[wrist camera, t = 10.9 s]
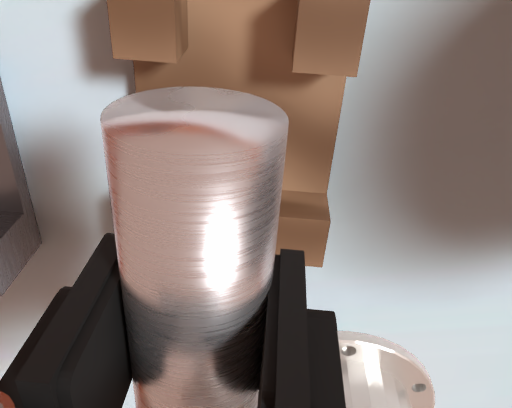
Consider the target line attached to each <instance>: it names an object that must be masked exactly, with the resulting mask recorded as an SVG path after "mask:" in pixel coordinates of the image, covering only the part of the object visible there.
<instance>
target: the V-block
mask: <svg viewBox="0 0 512 408" xmlns="http://www.w3.org/2000/svg"><path fill="white" fill-rule="evenodd" d="M40 245H41V239H40V235H39V231H38V227H37V223H36V219H35V215H34V211H33V207H32V203H31V199H30V195H29V191H28V187H27V183H26V179H25V175H24V171H23V167H22V163H21V159H20V155H19V151H18V147H17V143H16V139H15V135H14V131H13V127H12V122H11V118H10V114H9V110H8V106H7V102H6V98H5V94H4V90H3V86H2V82H1V78H0V296H2V295H3V294H4V292H5V291H6V290H7V288H8V287H9V286H10V285H11V283H12V282H13V281H14V279H15V278H16V277H17V275H18V274H19V273H20V271H21V270H22V269H23V267H24V266H25V265H26V263H27V262H28V261H29V259H30V258H31V257H32V255H33V254H34V253H35V251H36V250H37V249H38V247H39V246H40Z"/></svg>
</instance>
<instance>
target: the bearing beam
mask: <svg viewBox="0 0 512 408" xmlns="http://www.w3.org/2000/svg"><path fill="white" fill-rule="evenodd" d="M369 5H370V0H107V8H108V17H109V26H110V35H111V44H112V53H113V59H126V60H133V64H134V75H135V87H136V93H137V92H141V91H146V90H152V89H159V88H168V87H212V88H222V89H229V90H235V91H240V92H244V93H248V94H252V95H255V96H258V97H261V98H264V99H266V100H268V101H270V102H272V103H274V104H276V105H277V106H279V107H280V108H281V109H282V110H283V111H284V112H285V113H286V114H287V116H288V120H289V126H288V135H287V145H286V154H285V164H284V174H283V183H282V193H281V202H280V212H279V222H278V231H277V241H276V251H275V254H277V255H280V249H292V250H303V251H304V254H305V266H313V267H322V265H323V260H324V254H325V249H326V243H327V238H328V232H329V227H330V214H329V207H328V200H327V189H328V183H329V177H330V171H331V165H332V159H333V153H334V147H335V141H336V135H337V129H338V123H339V117H340V111H341V105H342V100H343V94H344V88H345V82H346V76H348V77H357V72H358V66H359V61H360V55H361V50H362V44H363V39H364V33H365V28H366V22H367V16H368V11H369Z"/></svg>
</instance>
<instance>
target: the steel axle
mask: <svg viewBox="0 0 512 408" xmlns="http://www.w3.org/2000/svg"><path fill="white" fill-rule="evenodd" d="M100 121H101V129H102V137H103V145H104V153H105V161H106V169H107V177H108V185H109V193H110V201H111V209H112V217H113V226H114V234H115V242H116V250H117V258H118V266H119V274H120V282H121V290H122V298H123V306H124V314H125V322H126V330H127V338H128V346H129V354H130V362H131V370H132V378H133V386H134V394H135V402H136V408H257V406H258V393H259V382H260V372H261V362H262V352H263V342H264V332H265V322H266V312H267V302H268V292H269V289H270V286H271V284H272V278H273V270H274V260H275V251H276V241H277V231H278V222H279V212H280V202H281V193H282V183H283V174H284V164H285V154H286V145H287V135H288V126H289V120H288V116H287V114H286V113H285V112H284V111H283V110H282V109H281V108H280V107H279V106H277V105H276V104H274V103H272V102H270V101H268V100H266V99H264V98H261V97H258V96H255V95H252V94H248V93H244V92H240V91H235V90H229V89H222V88H212V87H168V88H159V89H152V90H146V91H141V92H137V93H134V94H130V95H127V96H124V97H122V98H120V99H117V100H116V101H114V102H112V103H111V104H109V105H108V106H107V107H106V108H105V109H104V110H103V111H102V113H101V118H100Z"/></svg>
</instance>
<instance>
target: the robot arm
mask: <svg viewBox="0 0 512 408" xmlns="http://www.w3.org/2000/svg"><path fill="white" fill-rule="evenodd" d="M131 380H132V370H131V362H130V354H129V346H128V338H127V330H126V322H125V314H124V306H123V298H122V290H121V282H120V274H119V266H118V258H117V250H116V242H115V234H113V233H107V234H105V235H104V237H103V238H102V240H101V241H100V243H99V245H98V246H97V248H96V250H95V251H94V253H93V254H92V256H91V258H90V259H89V261H88V263H87V264H86V266H85V267H84V269H83V271H82V272H81V274H80V275H79V277H78V279H77V280H76V282H75V284H74V285H73V287H63V288H61V289H60V290H59V292H58V293H57V294H56V296H55V297H54V299H53V300H52V302H51V303H50V305H49V306H48V308H47V309H46V311H45V312H44V314H43V316H42V317H41V319H40V320H39V322H38V323H37V325H36V326H35V328H34V329H33V331H32V332H31V334H30V336H29V337H28V339H27V340H26V342H25V343H24V345H23V346H22V348H21V349H20V351H19V352H18V354H17V356H16V357H15V359H14V360H13V362H12V363H11V365H10V366H9V368H8V369H7V371H6V372H5V374H4V376H3V377H2V379H1V380H0V408H122V406H123V403H124V400H125V397H126V394H127V392H128V389H129V386H130V383H131ZM434 405H435V392H434V389H433V385H432V382H431V379H430V376H429V374H428V372H427V370H426V368H425V367H424V365H423V364H422V363H421V362H420V361H419V360H418V359H417V358H416V357H415V356H414V355H413V354H412V353H410V352H409V351H407V350H406V349H404V348H403V347H402V346H400V345H398V344H395V343H393V342H391V341H389V340H386V339H384V338H380V337H377V336H373V335H369V334H365V333H358V332H350V331H337V324H336V317H335V313H334V311H323V310H313V309H307V304H306V279H305V254H304V251H303V250H292V249H280V255H277V254H275V260H274V270H273V278H272V284H271V286H270V289H269V292H268V302H267V312H266V322H265V332H264V342H263V352H262V362H261V372H260V382H259V393H258V406H257V408H434Z"/></svg>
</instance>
